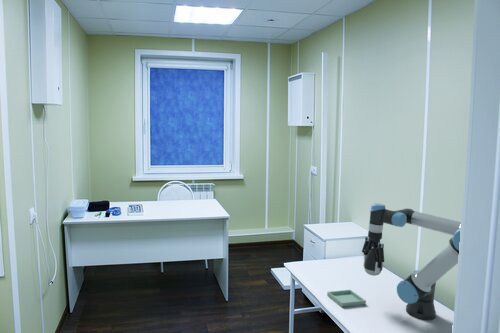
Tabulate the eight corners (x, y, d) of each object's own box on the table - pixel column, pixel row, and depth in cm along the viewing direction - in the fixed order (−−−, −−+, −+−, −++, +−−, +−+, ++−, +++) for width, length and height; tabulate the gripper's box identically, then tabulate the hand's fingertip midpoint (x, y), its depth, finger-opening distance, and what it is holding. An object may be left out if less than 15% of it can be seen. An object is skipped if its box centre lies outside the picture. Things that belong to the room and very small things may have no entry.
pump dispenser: (367, 269, 236) (370, 243, 234) (384, 274, 229) (387, 248, 227) (359, 273, 228) (362, 247, 226) (376, 278, 221) (379, 252, 220)
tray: (365, 304, 228) (365, 300, 228) (341, 307, 222) (342, 303, 222) (349, 293, 242) (350, 289, 242) (327, 295, 237) (327, 291, 237)
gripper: (394, 236, 216) (389, 276, 218) (369, 225, 237) (365, 262, 240) (382, 237, 214) (378, 277, 216) (358, 225, 235) (354, 262, 237)
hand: (371, 269), depth 228 cm, fingers closed on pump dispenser, 10 cm apart
